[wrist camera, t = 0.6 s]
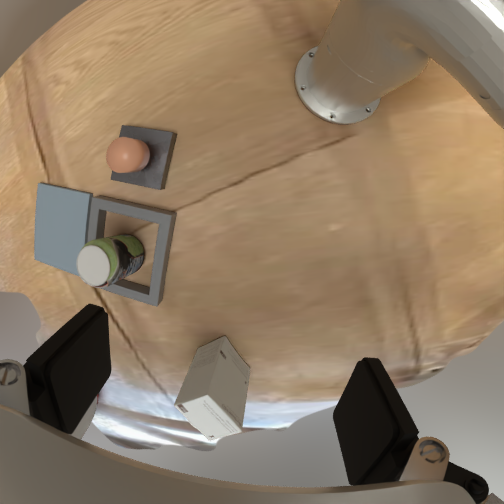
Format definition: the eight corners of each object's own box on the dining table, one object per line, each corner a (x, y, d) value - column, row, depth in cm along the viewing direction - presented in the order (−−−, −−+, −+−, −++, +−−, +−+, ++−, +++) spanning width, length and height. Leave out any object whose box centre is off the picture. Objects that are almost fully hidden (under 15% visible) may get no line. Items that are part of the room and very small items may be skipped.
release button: (124, 137, 34) (110, 135, 30) (153, 142, 34) (141, 139, 30) (117, 169, 35) (103, 169, 32) (145, 174, 36) (133, 175, 32)
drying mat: (41, 182, 40) (38, 183, 39) (92, 193, 40) (89, 194, 39) (37, 257, 43) (34, 259, 42) (85, 275, 44) (82, 277, 43)
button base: (127, 126, 37) (122, 125, 35) (177, 134, 38) (172, 132, 36) (116, 178, 39) (110, 179, 38) (164, 188, 40) (159, 189, 38)
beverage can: (113, 268, 43) (73, 297, 32) (112, 222, 41) (68, 241, 30) (148, 273, 43) (114, 306, 32) (148, 226, 41) (110, 246, 30)
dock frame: (100, 195, 40) (92, 197, 38) (176, 213, 41) (171, 215, 38) (92, 277, 44) (85, 283, 41) (162, 299, 44) (157, 306, 42)
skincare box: (251, 367, 47) (247, 433, 33) (222, 380, 48) (210, 443, 34) (223, 332, 46) (209, 395, 31) (193, 346, 47) (171, 408, 32)
